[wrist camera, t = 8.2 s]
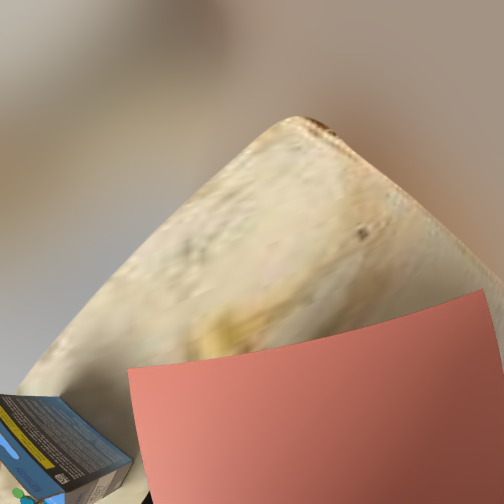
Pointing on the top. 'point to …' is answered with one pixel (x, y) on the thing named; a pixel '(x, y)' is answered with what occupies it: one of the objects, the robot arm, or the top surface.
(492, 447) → the red block
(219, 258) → the top surface
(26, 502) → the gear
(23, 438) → the label tape cartridge
